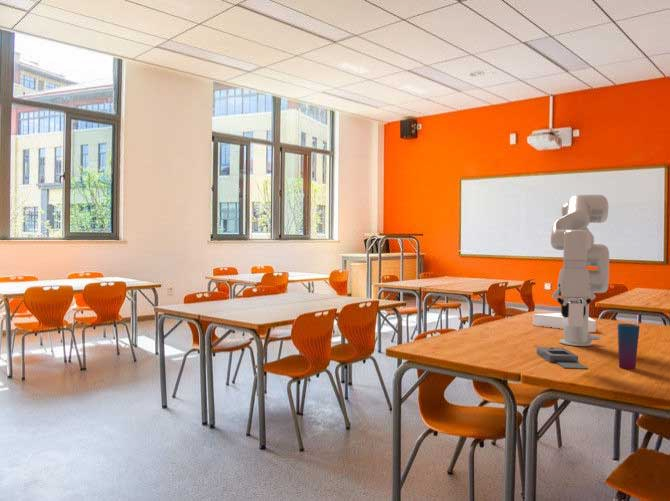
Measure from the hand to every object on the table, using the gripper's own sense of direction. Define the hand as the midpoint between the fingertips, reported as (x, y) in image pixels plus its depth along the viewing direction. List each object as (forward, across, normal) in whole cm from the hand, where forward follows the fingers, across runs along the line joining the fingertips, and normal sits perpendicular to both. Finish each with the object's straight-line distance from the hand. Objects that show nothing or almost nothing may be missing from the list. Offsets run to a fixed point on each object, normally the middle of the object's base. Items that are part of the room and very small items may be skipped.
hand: (573, 316), depth 195 cm
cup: (+18, -19, 0) cm, 26 cm away
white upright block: (+3, 0, 0) cm, 3 cm away
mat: (+17, 0, 0) cm, 17 cm away
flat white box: (+18, -33, -90) cm, 97 cm away
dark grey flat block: (+17, +1, -13) cm, 22 cm away
